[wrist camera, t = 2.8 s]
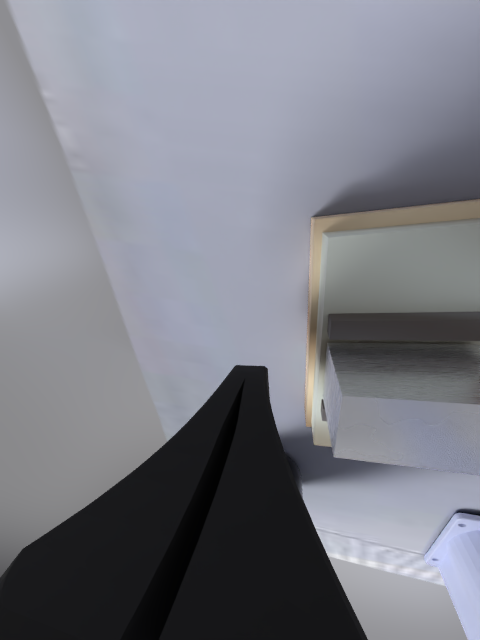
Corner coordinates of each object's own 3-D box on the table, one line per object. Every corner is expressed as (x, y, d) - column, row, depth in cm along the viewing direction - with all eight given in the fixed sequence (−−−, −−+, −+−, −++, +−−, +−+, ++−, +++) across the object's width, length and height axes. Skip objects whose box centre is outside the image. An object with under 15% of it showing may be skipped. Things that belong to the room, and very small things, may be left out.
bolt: (450, 404, 9) (510, 479, 6) (322, 396, 10) (333, 457, 8) (478, 344, 8) (568, 410, 5) (327, 342, 9) (342, 395, 6)
